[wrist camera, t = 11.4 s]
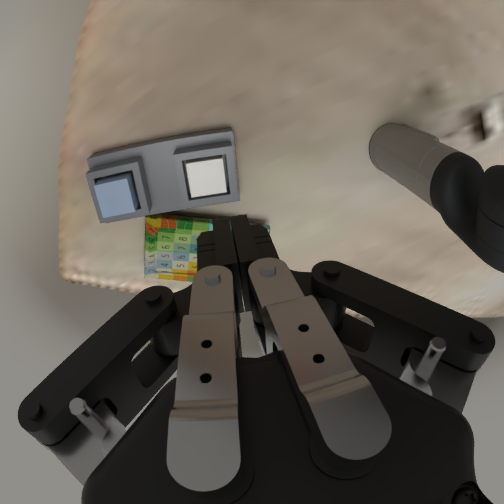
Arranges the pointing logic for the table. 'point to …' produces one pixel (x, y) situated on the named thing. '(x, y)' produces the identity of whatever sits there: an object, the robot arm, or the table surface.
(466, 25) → the table surface
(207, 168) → the white key
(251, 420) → the robot arm
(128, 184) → the blue key
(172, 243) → the puzzle game
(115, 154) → the grey plastic block
